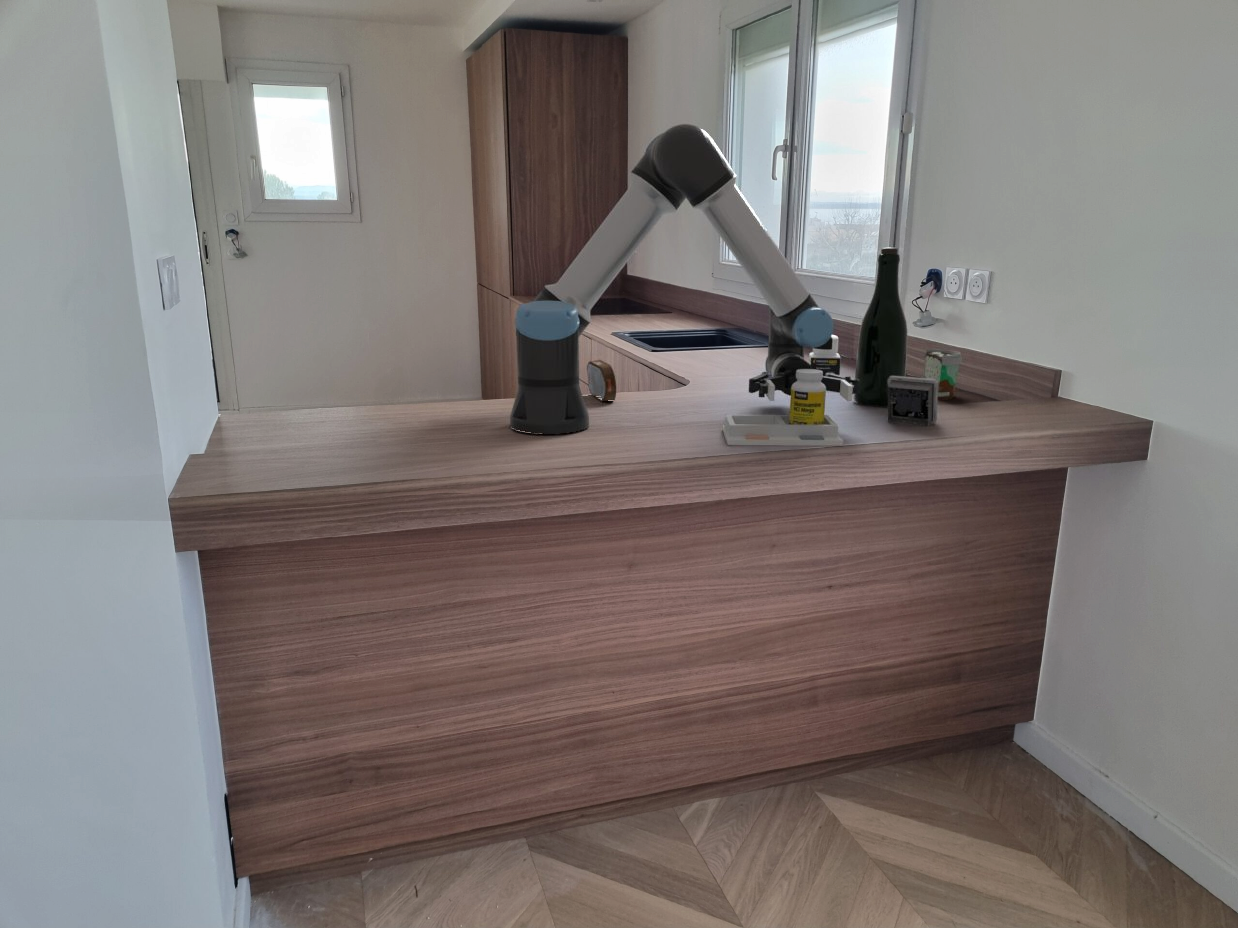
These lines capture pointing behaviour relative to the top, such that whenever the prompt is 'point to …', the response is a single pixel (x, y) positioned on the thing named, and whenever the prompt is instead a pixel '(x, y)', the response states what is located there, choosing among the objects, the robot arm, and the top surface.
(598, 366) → the tin
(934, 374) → the food container
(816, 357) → the medicine bottle
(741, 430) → the socket board
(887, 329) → the dark green wine bottle
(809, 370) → the pill bottle
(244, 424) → the top surface
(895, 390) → the electrical switch
